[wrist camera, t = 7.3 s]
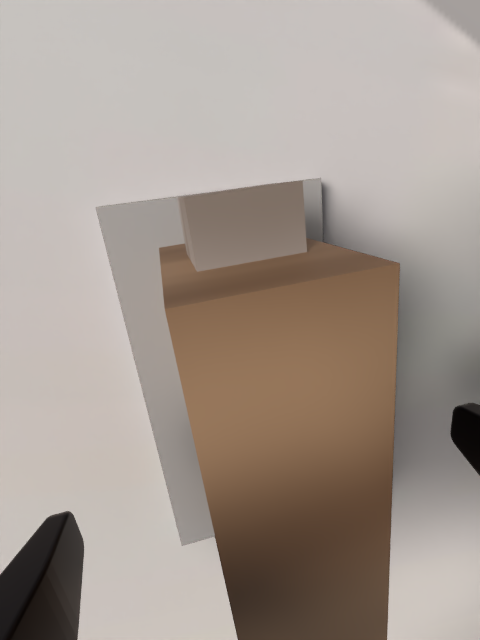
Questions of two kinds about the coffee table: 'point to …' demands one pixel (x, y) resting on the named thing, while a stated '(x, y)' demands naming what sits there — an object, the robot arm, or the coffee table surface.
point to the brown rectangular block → (288, 410)
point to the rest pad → (167, 339)
